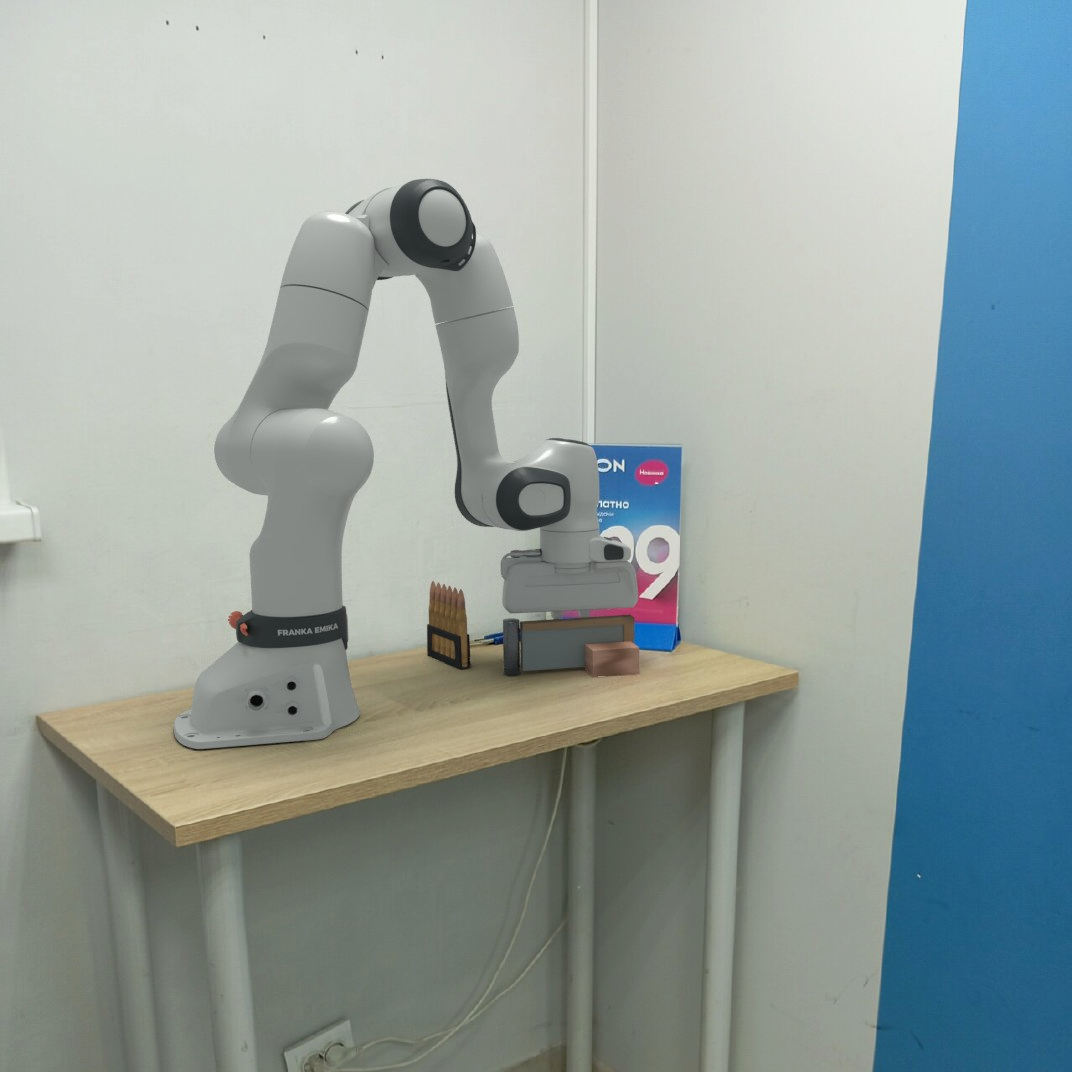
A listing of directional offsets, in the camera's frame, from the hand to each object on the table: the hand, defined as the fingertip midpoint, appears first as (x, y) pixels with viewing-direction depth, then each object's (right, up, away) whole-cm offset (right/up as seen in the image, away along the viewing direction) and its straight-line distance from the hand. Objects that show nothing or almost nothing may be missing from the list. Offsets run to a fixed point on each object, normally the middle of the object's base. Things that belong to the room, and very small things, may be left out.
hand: (570, 639), depth 153 cm
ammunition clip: (-19, -4, +4) cm, 19 cm away
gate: (+1, -4, -2) cm, 4 cm away
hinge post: (-9, -5, -4) cm, 11 cm away
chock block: (+6, -5, -3) cm, 8 cm away
